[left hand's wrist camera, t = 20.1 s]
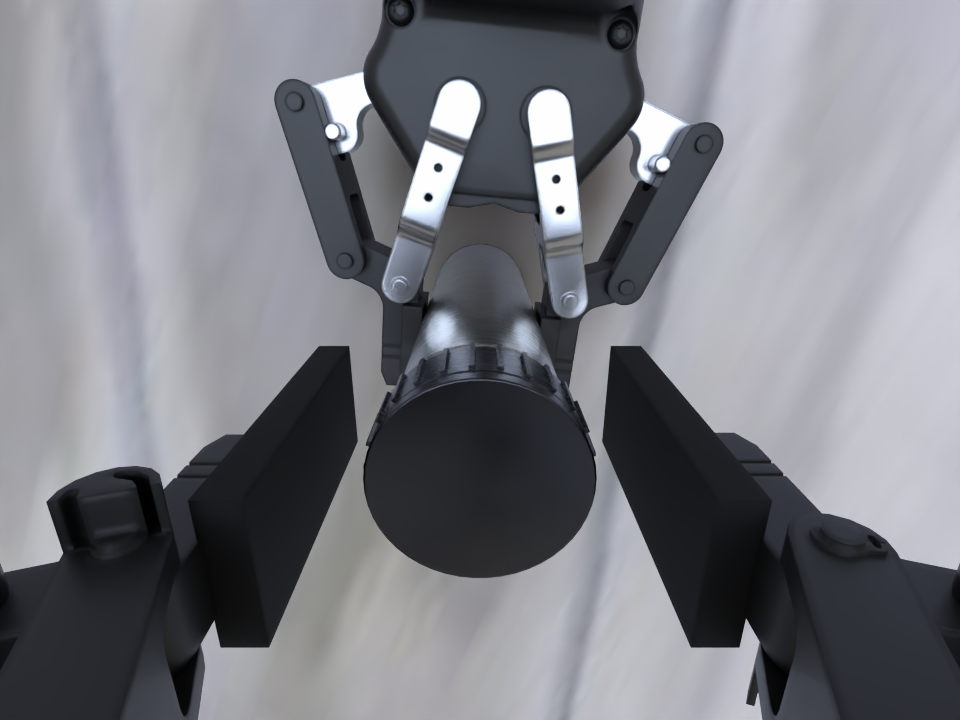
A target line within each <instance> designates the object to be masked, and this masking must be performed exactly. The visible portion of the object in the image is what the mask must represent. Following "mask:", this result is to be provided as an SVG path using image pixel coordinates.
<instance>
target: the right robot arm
mask: <svg viewBox="0 0 960 720" xmlns="http://www.w3.org/2000/svg"><path fill="white" fill-rule="evenodd" d="M643 3H644V0H383V11H382V21H381V25H380V29H379V33H378V36H377V38H376V41H375V43H374V45H373V47H372V48H371V50H370V52H369V53H368V55H367V58H366V61H365V64H364V70H363V71H362V72H358V73H355V74H351V75H347V76H343V77H339V78H336V79H332V80H328V81H324V82H320V83H316V84H307V83H305V82H302V81H300V80H297V79H289V80H286V81H284V82H282V83H281V84H280V85H279V86H278V88H277V89H276V92H275V98H274V101H275V106H276V109H277V112H278V116H279V119H280V122H281V125H282V128H283V131H284V134H285V137H286V140H287V143H288V146H289V149H290V152H291V155H292V158H293V161H294V164H295V167H296V170H297V173H298V176H299V179H300V183H301V186H302V189H303V192H304V195H305V198H306V201H307V204H308V207H309V210H310V213H311V216H312V219H313V222H314V225H315V228H316V231H317V234H318V237H319V240H320V243H321V246H322V249H323V253H324V256H325V259H326V262H327V265H328V267H329V269H330V271H331V272H332V273H333V274H334V275H336V276H337V277H340V278H343V279H351V278H352V279H354V280H357V281H359V282H361V283H363V284H366V285H368V286H370V287H372V288H373V289H374V290H375V291H376V292H377V293H378V294H379V296H380V297H381V300H382V303H383V331H382V363H381V372H382V375H383V377H384V380H385V382H386V385H397V382H398V380H399V377H400V375H401V374H402V373H405V370H406V367H407V364H408V361H409V359H410V356H411V353H412V350H413V347H414V344H415V341H416V339H417V336H418V333H419V330H420V327H421V324H422V321H423V319H424V316H425V313H426V310H427V307H428V294H429V292H423V281H424V276H425V273H426V270H427V268H428V265H429V262H430V259H431V256H432V253H433V250H434V247H435V245H436V242H437V239H438V236H439V233H440V231H441V228H442V225H443V223H444V220H445V217H446V214H447V211H448V208H449V206H458V207H474V206H480V205H485V204H491V203H495V204H498V205H500V206H503V207H506V208H508V209H511V210H513V211H516V212H521V213H531V214H532V216H533V223H534V230H535V235H536V239H537V244H538V250H539V257H540V264H541V271H542V278H543V285H544V288H543V296H542V303H540V302H535V308H534V313H535V315H536V318H537V321H538V324H539V327H540V330H541V333H542V336H543V338H544V341H545V344H546V347H547V350H548V353H549V356H550V358H551V361H552V364H553V367H554V370H555V373H556V376H557V378H558V379H559V380H560V382H562V381H565V382H566V383H567V385H568V388H569V384H570V378H571V371H572V365H573V359H574V353H575V347H576V341H577V334H578V328H579V324H580V321H581V319H582V317H583V316H584V315H585V314H586V313H587V312H588V311H589V310H591V309H593V308H595V307H599V306H603V305H607V304H611V303H617V304H620V305H629V304H632V303H634V302H636V301H637V300H638V299H639V298H640V297H641V296H642V294H643V292H644V290H645V289H646V287H647V285H648V283H649V281H650V279H651V278H652V276H653V274H654V272H655V270H656V269H657V267H658V265H659V263H660V261H661V260H662V258H663V256H664V254H665V252H666V250H667V249H668V247H669V245H670V243H671V241H672V240H673V238H674V236H675V234H676V232H677V230H678V229H679V227H680V225H681V223H682V221H683V220H684V218H685V216H686V214H687V212H688V210H689V209H690V207H691V205H692V203H693V201H694V200H695V198H696V196H697V194H698V192H699V190H700V189H701V187H702V185H703V183H704V181H705V180H706V178H707V176H708V174H709V172H710V171H711V169H712V167H713V165H714V163H715V161H716V160H717V158H718V156H719V154H720V152H721V150H722V147H723V135H722V132H721V130H720V129H719V128H718V127H717V126H716V125H714V124H712V123H707V122H705V123H689V122H686V121H684V120H682V119H680V118H678V117H676V116H674V115H672V114H670V113H668V112H666V111H665V110H663V109H661V108H659V107H657V106H655V105H653V104H651V103H649V102H647V101H645V100H644V86H643V81H642V79H641V76H640V73H639V69H638V64H637V55H636V46H637V37H638V32H639V26H640V20H641V14H642V9H643ZM373 107H374V108H375V110H376V111H377V113H378V115H379V116H380V118H381V120H382V121H383V123H384V125H385V126H386V128H387V130H388V131H389V133H390V135H391V136H392V138H393V140H394V141H395V143H396V145H397V146H398V148H399V150H400V151H401V153H402V155H403V156H404V158H405V160H406V161H407V163H408V165H409V166H410V168H411V170H412V171H413V173H414V177H413V180H412V183H411V186H410V189H409V193H408V196H407V199H406V202H405V205H404V208H403V211H402V214H401V218H400V221H399V225H398V232H397V235H396V238H395V241H394V244H393V247H392V248H390V247H388V246H385V245H383V244H381V243H379V242H377V241H375V238H374V235H373V231H372V228H371V225H370V221H369V218H368V214H367V211H366V208H365V204H364V201H363V197H362V194H361V190H360V187H359V184H358V180H357V177H356V173H355V170H354V167H353V163H352V160H351V156H350V153H352V152H354V151H356V150H357V149H358V148H359V147H360V146H361V144H362V141H363V119H364V117H365V115H366V113H367V112H368V111H369V110H370V109H372V108H373ZM626 134H628V136H629V137H630V138H631V140H632V143H633V154H632V157H631V160H630V171H631V174H632V176H633V177H634V178H635V179H636V180H638V181H639V182H638V184H637V186H636V188H635V190H634V192H633V193H632V195H631V197H630V199H629V201H628V203H627V205H626V207H625V209H624V211H623V213H622V215H621V217H620V219H619V221H618V223H617V225H616V227H615V229H614V231H613V233H612V235H611V237H610V239H609V241H608V243H607V244H606V246H605V248H604V250H603V252H602V254H601V256H600V258H599V260H598V262H594V263H590V264H587V265H584V260H583V250H582V246H583V229H582V220H581V211H580V202H579V194H578V187H579V186H580V185H581V184H582V183H583V181H584V180H585V179H586V178H587V177H588V176H589V175H590V174H591V172H592V171H593V170H594V169H595V168H596V167H597V166H598V165H599V164H600V162H601V161H602V160H603V159H604V158H605V157H606V156H607V155H608V154H609V152H610V151H611V150H612V149H613V148H614V147H615V146H616V145H617V144H618V142H619V141H620V140H621V139H622V138H623V137H624V136H625V135H626Z"/></svg>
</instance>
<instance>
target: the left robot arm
mask: <svg viewBox="0 0 960 720" xmlns="http://www.w3.org/2000/svg"><path fill="white" fill-rule="evenodd" d="M357 442H358V440H357V429H356V417H355V406H354V395H353V384H352V373H351V362H350V351H349V346H319V347H318V348H317V349H316V350H315V352H314V353H313V354H312V355H311V356H310V357H309V359H308V360H307V361H306V362H305V363H304V364H303V366H302V367H301V368H300V369H299V370H298V372H297V373H296V374H295V375H294V376H293V377H292V379H291V380H290V381H289V382H288V383H287V384H286V386H285V387H284V388H283V389H282V390H281V392H280V393H279V394H278V395H277V396H276V397H275V399H274V400H273V401H272V402H271V403H270V404H269V406H268V407H267V408H266V409H265V410H264V411H263V413H262V414H261V415H260V416H259V417H258V419H257V420H256V421H255V422H254V423H253V424H252V426H251V427H250V428H249V429H248V430H247V431H246V433H245V434H244V435H225V436H223V437H221V438H219V439H218V440H216V441H214V442H212V443H211V444H209V445H207V446H205V447H204V448H203V449H202V450H201V451H200V452H199V453H198V454H197V455H196V456H195V457H194V458H193V459H192V460H191V461H190V462H189V466H186V467H185V468H184V469H183V470H182V471H181V472H180V473H179V474H178V475H177V476H178V477H177V478H174V479H173V480H172V481H171V482H170V483H169V484H168V485H167V487H166V488H165V489H164V490H163V486H162V482H161V478H160V474H159V473H157V472H156V471H154V470H153V469H151V468H146V467H139V466H130V467H117V468H113V469H109V470H104V471H100V472H96V473H93V474H91V475H88V476H86V477H83V478H80V479H78V480H75V481H74V482H72V483H70V484H69V485H67V486H65V487H63V488H62V489H60V490H58V491H57V492H56V493H55V494H54V495H53V496H52V497H51V498H50V499H49V500H48V501H47V505H48V508H49V511H50V514H51V517H52V520H53V523H54V526H55V529H56V532H57V535H58V538H59V541H60V544H61V547H62V550H63V555H62V557H61V559H60V561H59V562H55V563H50V564H45V565H40V566H35V567H30V568H25V569H20V570H15V571H10V572H5V573H4V572H3V569H2V567H1V564H0V720H198V714H199V707H200V700H201V693H202V686H203V679H204V671H205V664H204V656H203V652H202V648H201V642H202V641H203V639H204V637H205V635H206V634H207V632H208V630H209V628H210V627H211V625H212V623H213V622H214V620H215V624H216V629H217V633H218V638H219V642H220V647H269V646H270V644H271V642H272V639H273V637H274V635H275V632H276V630H277V628H278V625H279V623H280V621H281V618H282V616H283V614H284V611H285V609H286V607H287V604H288V602H289V600H290V597H291V595H292V593H293V590H294V588H295V586H296V584H297V581H298V579H299V577H300V574H301V572H302V570H303V567H304V565H305V563H306V560H307V558H308V556H309V553H310V551H311V549H312V546H313V544H314V542H315V539H316V537H317V535H318V532H319V530H320V528H321V525H322V523H323V521H324V518H325V516H326V514H327V511H328V509H329V507H330V505H331V502H332V500H333V498H334V495H335V493H336V491H337V488H338V486H339V484H340V481H341V479H342V477H343V474H344V472H345V470H346V467H347V465H348V463H349V460H350V458H351V456H352V453H353V451H354V449H355V446H356V444H357ZM602 442H603V444H604V446H605V449H606V451H607V453H608V456H609V458H610V460H611V463H612V465H613V467H614V470H615V472H616V474H617V477H618V479H619V481H620V484H621V486H622V488H623V491H624V493H625V495H626V498H627V500H628V502H629V505H630V507H631V509H632V511H633V514H634V516H635V518H636V521H637V523H638V525H639V528H640V530H641V532H642V535H643V537H644V539H645V542H646V544H647V546H648V549H649V551H650V553H651V556H652V558H653V560H654V563H655V565H656V567H657V570H658V572H659V574H660V577H661V579H662V581H663V584H664V586H665V588H666V591H667V593H668V595H669V597H670V600H671V602H672V604H673V607H674V609H675V611H676V614H677V616H678V618H679V621H680V623H681V625H682V628H683V630H684V632H685V635H686V637H687V639H688V642H689V644H690V646H691V647H740V642H741V638H742V633H743V629H744V624H745V620H746V619H747V620H748V622H749V624H750V626H751V627H752V629H753V631H754V633H755V634H756V636H757V638H758V639H759V641H760V643H759V648H758V652H757V656H756V660H755V664H754V668H753V672H752V677H751V681H750V685H749V689H748V694H747V702H746V704H749V705H752V706H754V705H755V701H756V697H757V693H759V698H760V705H761V712H762V719H763V720H960V564H959V567H958V569H957V570H953V569H948V568H943V567H938V566H933V565H928V564H923V563H918V562H913V561H908V560H904V559H900V558H899V556H898V554H897V552H896V551H895V550H894V549H893V548H892V546H891V545H890V544H889V543H888V542H887V540H885V539H884V538H882V537H881V536H880V535H878V534H877V533H875V532H874V531H872V530H871V529H869V528H867V527H865V526H863V525H860V524H858V523H856V522H854V521H852V520H849V519H845V518H842V517H838V516H834V515H830V514H822V513H821V512H820V511H819V510H818V509H817V508H816V507H815V506H814V505H813V504H812V503H811V502H810V501H809V500H808V499H807V498H806V496H805V495H804V494H803V493H802V492H801V491H800V490H799V489H798V488H797V487H796V486H795V485H794V484H793V483H792V482H791V481H790V480H789V479H788V478H787V477H786V476H783V472H782V471H781V470H780V469H779V468H778V467H777V466H776V465H775V464H771V460H770V459H769V458H768V457H767V456H766V455H765V454H764V453H763V452H762V451H761V450H760V449H759V447H758V446H757V445H755V444H753V443H751V442H749V441H748V440H746V439H744V438H742V437H741V436H739V435H737V434H735V433H714V431H713V430H712V429H711V428H710V427H709V426H708V424H707V423H706V422H705V421H704V420H703V419H702V417H701V416H700V415H699V414H698V413H697V411H696V410H695V409H694V408H693V407H692V406H691V404H690V403H689V402H688V401H687V400H686V399H685V397H684V396H683V395H682V394H681V393H680V392H679V390H678V389H677V388H676V387H675V386H674V384H673V383H672V382H671V381H670V380H669V379H668V377H667V376H666V375H665V374H664V373H663V372H662V370H661V369H660V368H659V367H658V366H657V364H656V363H655V362H654V361H653V360H652V359H651V357H650V356H649V355H648V354H647V353H646V352H645V350H644V349H643V348H642V347H641V346H611V351H610V362H609V373H608V384H607V395H606V406H605V417H604V428H603V440H602Z"/></svg>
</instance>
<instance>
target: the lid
mask: <svg viewBox="0 0 960 720" xmlns="http://www.w3.org/2000/svg"><path fill="white" fill-rule="evenodd" d="M588 432H590V431H589V429H588V426H587V424H586V421H585V419H584V416H583V414H582V411H581V409H580V406H579V404H578V401H575V402H574V401H573V398H572V396H571V393H570V391H569V388H568V385H567V383H566V382H565V381H562V382H560V380H559V379H558V378H557V377H556V376H555V375H554V374H553V373H552V372H551V370H550V367H549V366H548V365H547V364H545V365H544V366H543V365H541V364H540V363H538V362H537V361H535V360H533V359H531V358H529V357H528V354H527V353H526V352H524V351H522V353H521V354H520V353H517V352H515V351H511V350H507V349H503V348H502V345H499V344H497V345H496V347H490V346H475V343H470V346H469V347H462V348H456V349H453V350H449V348H444V349H443V352H442V353H440V354H437V355H435V356H432V357H430V358H429V359H427V360H425V358H422V359H420V360H419V364H418V365H417V366H416V367H414V368H413V369H412V370H410V371H409V372H408V373H407V374H406V375H405V374H404V373H402V374H401V375H400V377H399V380H398V382H397V385H396V387H395V388H394V389H393V391H392V392H391V393H390V392H387V393H386V395H385V398H384V400H383V403H382V405H381V408H380V410H379V413H378V414H377V417H376V419H375V422H374V424H373V427H372V429H371V432H370V434H369V437H368V439H367V442H366V446H369V448H368V451H367V454H366V459H365V463H364V475H363V482H364V492H365V496H366V500H367V504H368V507H369V509H370V512H371V514H372V517H373V518H374V520H375V522H376V524H377V525H378V527H379V529H380V530H381V531H382V533H383V534H384V535H385V536H386V538H387V539H388V540H389V541H390V542H391V543H392V544H393V545H394V546H395V547H396V548H397V549H399V550H400V551H401V552H402V553H404V554H405V555H406V556H408V557H409V558H411V559H413V560H414V561H416V562H418V563H419V564H422V565H424V566H426V567H428V568H430V569H433V570H436V571H439V572H442V573H445V574H450V575H454V576H459V577H469V578H491V577H500V576H505V575H510V574H515V573H518V572H521V571H524V570H527V569H530V568H532V567H534V566H536V565H538V564H540V563H542V562H544V561H546V560H547V559H549V558H551V557H552V556H554V555H555V554H556V553H557V552H559V551H560V550H561V549H563V548H564V547H565V546H566V545H567V544H568V543H569V542H570V541H571V540H572V539H573V537H574V536H575V535H576V534H577V532H578V531H579V530H580V528H581V527H582V525H583V523H584V522H585V520H586V518H587V516H588V514H589V511H590V509H591V506H592V504H593V499H594V495H595V491H596V479H597V477H596V464H595V460H594V456H596V453H595V450H594V447H593V445H592V442H591V439H590V437H589V434H588Z"/></svg>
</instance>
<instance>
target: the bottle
mask: <svg viewBox="0 0 960 720" xmlns="http://www.w3.org/2000/svg"><path fill="white" fill-rule="evenodd" d="M470 343H475V346H490V347H496V345H497V344H499V345H502V348H503V349H507V350H511V351H515V352H517V353H520V354H521V353H522V351H524V352H526V353H527V354H528V357H529V358H531V359H533V360H535V361H537V362H538V363H540V364H541V365H543V366H544V365H545V364H547V365H548V366H549V367H550V370H551V372H552V373H553V374H554V375H555V376H556V373H555V370H554V367H553V364H552V361H551V358H550V356H549V353H548V350H547V347H546V344H545V341H544V338H543V336H542V333H541V330H540V327H539V324H538V321H537V318H536V315H535V313H534V310H533V307H532V304H531V301H530V298H529V295H528V293H527V290H526V287H525V284H524V281H523V278H522V275H521V273H520V270H519V268H518V266H517V264H516V263H515V261H514V260H513V259H512V258H511V257H510V256H509V255H508V254H507V253H505V252H504V251H502V250H501V249H499V248H496V247H494V246H490V245H483V244H476V245H470V246H467V247H464V248H462V249H459V250H458V251H456V252H455V253H453V254H452V255H451V256H450V257H449V258H448V259H447V260H446V262H445V263H444V264H443V266H442V268H441V270H440V273H439V276H438V279H437V282H436V284H435V287H434V290H433V293H432V296H431V299H430V301H429V304H428V307H427V310H426V313H425V316H424V319H423V321H422V324H421V327H420V330H419V333H418V336H417V339H416V341H415V344H414V347H413V350H412V353H411V356H410V359H409V361H408V364H407V367H406V370H405V373H404V374H405V375H406V374H407V373H408V372H409V371H410V370H412V369H413V368H414V367H416V366H417V365H418V364H419V360H420V359H422V358H425V360H427V359H429V358H430V357H432V356H435V355H437V354H440V353H442V352H443V349H444V348H449V350H453V349H456V348H462V347H469V346H470ZM556 377H557V376H556Z"/></svg>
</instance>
